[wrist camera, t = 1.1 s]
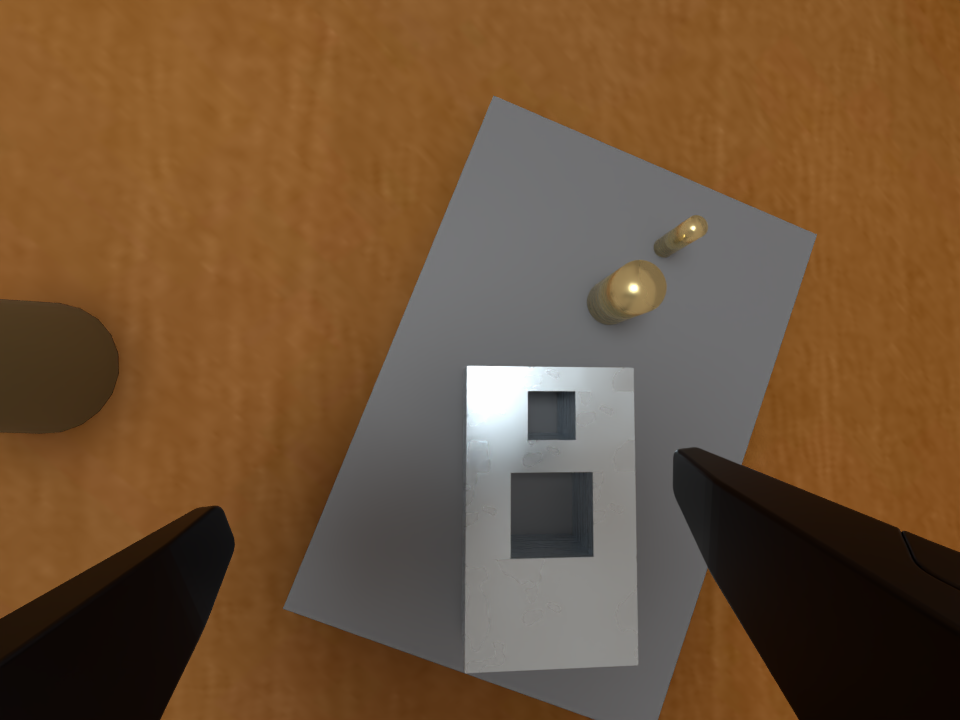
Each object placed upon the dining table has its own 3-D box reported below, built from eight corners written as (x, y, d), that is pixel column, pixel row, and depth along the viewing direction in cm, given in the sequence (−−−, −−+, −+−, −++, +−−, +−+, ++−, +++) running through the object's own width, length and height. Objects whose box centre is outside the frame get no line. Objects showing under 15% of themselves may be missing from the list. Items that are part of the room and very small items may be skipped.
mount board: (641, 723, 22) (651, 739, 21) (290, 598, 21) (282, 608, 20) (801, 241, 24) (816, 234, 23) (491, 108, 23) (493, 95, 22)
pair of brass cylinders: (609, 334, 22) (641, 323, 18) (577, 302, 22) (604, 285, 18) (685, 256, 23) (730, 231, 19) (654, 225, 23) (694, 194, 19)
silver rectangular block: (610, 626, 21) (638, 665, 18) (461, 631, 21) (464, 673, 18) (607, 370, 22) (633, 367, 19) (463, 369, 21) (466, 366, 18)
